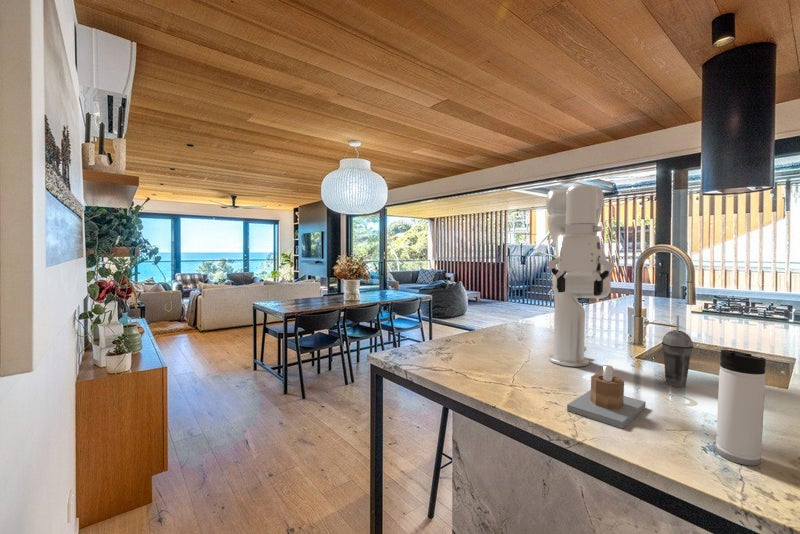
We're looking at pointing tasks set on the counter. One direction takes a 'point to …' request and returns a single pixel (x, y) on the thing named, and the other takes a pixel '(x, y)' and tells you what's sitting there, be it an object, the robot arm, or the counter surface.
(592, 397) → the walnut bead
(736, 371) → the travel mug
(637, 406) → the rod board
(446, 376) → the counter surface
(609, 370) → the metal rod
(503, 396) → the counter surface
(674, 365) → the beverage cup
